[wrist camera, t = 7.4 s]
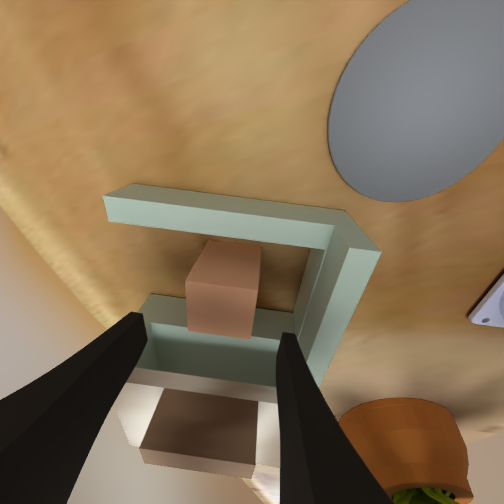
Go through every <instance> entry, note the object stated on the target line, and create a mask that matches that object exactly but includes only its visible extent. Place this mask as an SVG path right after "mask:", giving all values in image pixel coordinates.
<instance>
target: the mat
mask: <svg viewBox="0 0 504 504" xmlns="http://www.w3.org/2000/svg"><path fill="white" fill-rule="evenodd" d="M327 135H328V146H329V151H330V155H331V158H332V161H333V163H334V165H335V167H336V169H337V171H338V173H339V174H340V176H341V177H342V178H343V179H344V180H345V182H346V183H347V184H348V185H350V186H351V187H352V188H354V189H355V190H356V191H358V192H359V193H361V194H363V195H365V196H367V197H369V198H372V199H375V200H379V201H384V202H406V201H412V200H417V199H421V198H424V197H428V196H430V195H433V194H435V193H438V192H440V191H442V190H444V189H446V188H448V187H450V186H451V185H453V184H455V183H456V182H458V181H459V180H461V179H462V178H464V177H465V176H466V175H468V174H469V173H470V172H472V171H473V170H474V169H475V168H476V167H477V166H479V165H480V164H481V163H482V162H483V161H484V160H485V159H486V158H487V157H488V156H489V155H490V154H491V153H492V152H493V151H494V149H495V148H496V147H497V146H498V144H499V143H500V142H501V141H502V139H503V138H504V0H410V1H409V2H407V3H405V4H404V5H402V6H401V7H399V8H398V9H397V10H395V11H394V12H393V13H392V14H390V15H389V16H388V17H387V18H386V19H384V20H383V21H382V22H381V23H380V24H379V25H378V26H377V27H376V28H375V29H374V30H373V31H372V32H371V33H370V34H369V35H368V36H367V37H366V39H365V40H364V41H363V42H362V44H361V45H360V46H359V47H358V48H357V50H356V51H355V53H354V54H353V56H352V57H351V59H350V60H349V62H348V63H347V65H346V67H345V69H344V71H343V73H342V75H341V77H340V79H339V81H338V84H337V86H336V89H335V91H334V94H333V98H332V101H331V105H330V110H329V115H328V126H327Z"/></svg>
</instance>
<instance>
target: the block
mask: <svg viewBox="0 0 504 504" xmlns="http://www.w3.org/2000/svg"><path fill="white" fill-rule="evenodd" d="M261 250H262V247H256V246H249V245H241V244H234V243H226V242H218V241H211V240H208V241H207V243H206V244H205V246H204V248H203V250H202V252H201V253H200V255H199V257H198V259H197V260H196V262H195V264H194V266H193V267H192V269H191V271H190V273H189V274H188V276H187V278H186V280H185V291H186V308H187V325H188V331H190V332H198V333H205V334H212V335H220V336H227V337H234V338H242V339H249V340H251V334H252V327H253V321H254V315H255V308H256V302H257V295H258V287H259V275H260V262H261Z"/></svg>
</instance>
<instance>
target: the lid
mask: <svg viewBox="0 0 504 504" xmlns="http://www.w3.org/2000/svg"><path fill="white" fill-rule="evenodd" d="M114 406H115V409H116V411H117V414H118V416H119V419H120V421H121V423H122V425H123V428H124V431H125V433H126V436H127V438H128V441H129V443H130V445H131V446H136V447H139V449H140V452H141V455H142V458H143V460H144V463H147V464H153V465H160V466H167V467H174V468H180V469H187V470H194V471H201V472H208V473H214V474H221V475H228V476H234V477H241V478H248V479H251V478H252V475H253V472H254V468H255V464H258V465H265V466H272V467H278V468H280V429H279V417H278V404H277V391H276V387H270V386H263V385H256V384H249V383H242V382H235V381H228V380H221V379H213V378H206V377H199V376H192V375H185V374H178V373H171V372H164V371H157V370H150V369H143V368H136V367H135V368H134V370H133V372H132V373H131V375H130V377H129V378H128V380H127V382H126V383H125V385H124V387H123V389H122V390H121V392H120V394H119V395H118V397H117V399H116V400H115V402H114Z"/></svg>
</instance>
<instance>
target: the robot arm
mask: <svg viewBox="0 0 504 504" xmlns="http://www.w3.org/2000/svg"><path fill="white" fill-rule="evenodd" d="M468 319H469V320H470V321H471V322H472V323H474V324H480V325H488V326H495V327H503V328H504V274H503V275H502V277H501V278H500V279H499V280H498V281H497V283H496V284H495V285H494V286H493V287H492V289H491V290H490V291H489V292H488V293H487V295H486V296H485V297H484V298H483V299H482V301H481V302H480V303H479V304H478V305H477V307H476V308H475V309H474V310H473V311H472V313H471V314H470V315H469V317H468ZM147 341H148V337H147V332H146V327H145V322H144V317H143V313H137V312H130V313H129V314H127V315H126V316H125V317H123V318H122V319H121V320H120V321H118V322H117V323H116V324H114V325H113V326H112V327H111V328H109V329H108V330H107V331H105V332H104V333H103V334H101V335H100V336H99V337H98V338H96V339H95V340H93V341H92V342H91V343H89V344H88V345H87V346H85V347H84V348H83V349H81V350H80V351H78V352H77V353H75V354H74V355H73V356H71V357H70V358H68V359H67V360H65V361H64V362H63V363H61V364H60V365H58V366H57V367H55V368H53V369H52V370H50V371H49V372H47V373H46V374H44V375H42V376H41V377H39V378H38V379H36V380H34V381H33V382H31V383H30V384H28V385H26V386H24V387H23V388H21V389H19V390H17V391H16V392H14V393H12V394H10V395H9V396H7V397H5V398H3V399H1V400H0V504H67V501H68V499H69V497H70V494H71V492H72V489H73V487H74V485H75V483H76V481H77V478H78V476H79V474H80V471H81V469H82V467H83V465H84V463H85V460H86V458H87V456H88V454H89V451H90V449H91V447H92V445H93V443H94V441H95V438H96V437H97V435H98V433H99V430H100V428H101V426H102V424H103V422H104V420H105V418H106V416H107V414H108V413H109V411H110V409H111V407H112V405H113V404H114V402H115V400H116V399H117V397H118V395H119V394H120V392H121V390H122V389H123V387H124V385H125V383H126V382H127V380H128V378H129V377H130V375H131V373H132V372H133V370H134V368H135V366H136V365H137V363H138V361H139V359H140V357H141V355H142V353H143V350H144V348H145V346H146V343H147ZM276 391H277V404H278V417H279V429H280V504H394V502H393V501H392V500H391V498H390V497H389V496H388V494H387V493H386V492H385V490H384V489H383V488H382V486H381V485H380V484H379V482H378V481H377V480H376V478H375V477H374V476H373V474H372V473H371V471H370V470H369V469H368V467H367V466H366V464H365V463H364V461H363V460H362V458H361V457H360V455H359V454H358V453H357V451H356V450H355V448H354V447H353V445H352V444H351V442H350V441H349V439H348V438H347V436H346V435H345V433H344V431H343V430H342V428H341V427H340V425H339V423H338V422H337V420H336V418H335V417H334V415H333V413H332V412H331V410H330V408H329V406H328V405H327V403H326V401H325V399H324V397H323V395H322V393H321V392H320V390H319V388H318V386H317V384H316V382H315V380H314V378H313V375H312V373H311V371H310V369H309V367H308V365H307V362H306V360H305V358H304V355H303V353H302V350H301V348H300V345H299V342H298V340H297V337H296V335H295V334H294V333H287V332H282V336H281V340H280V344H279V348H278V351H277V355H276Z"/></svg>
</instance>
